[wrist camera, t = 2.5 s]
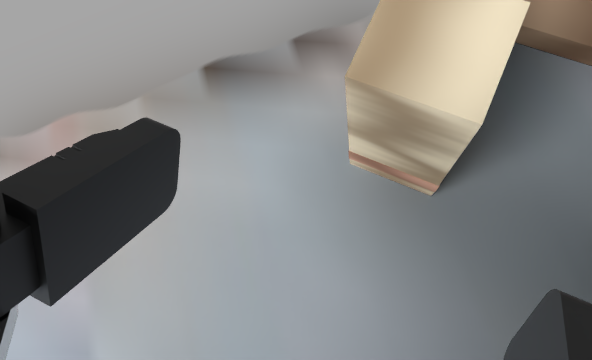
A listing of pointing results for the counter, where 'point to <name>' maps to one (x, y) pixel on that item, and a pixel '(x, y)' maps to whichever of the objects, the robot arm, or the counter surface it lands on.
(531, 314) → the robot arm
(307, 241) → the counter surface
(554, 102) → the counter surface
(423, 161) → the maple link block
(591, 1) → the seat board
